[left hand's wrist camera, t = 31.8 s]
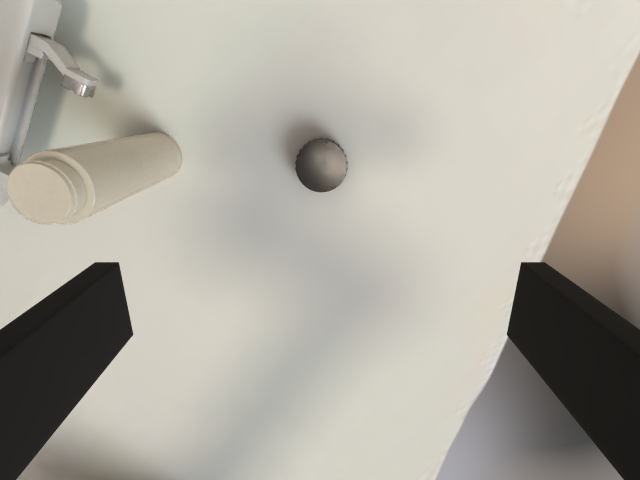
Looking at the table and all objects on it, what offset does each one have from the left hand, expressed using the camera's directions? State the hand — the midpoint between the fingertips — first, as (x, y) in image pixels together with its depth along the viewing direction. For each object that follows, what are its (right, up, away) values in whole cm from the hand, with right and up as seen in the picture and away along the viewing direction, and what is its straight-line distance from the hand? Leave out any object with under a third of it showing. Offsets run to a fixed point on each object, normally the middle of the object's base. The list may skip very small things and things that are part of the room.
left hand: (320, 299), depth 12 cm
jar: (-17, +11, +26) cm, 33 cm away
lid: (0, +9, +25) cm, 27 cm away
